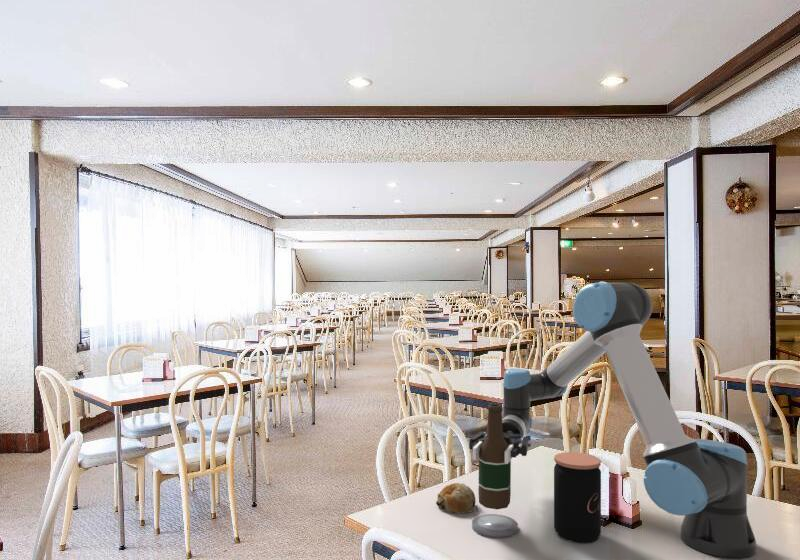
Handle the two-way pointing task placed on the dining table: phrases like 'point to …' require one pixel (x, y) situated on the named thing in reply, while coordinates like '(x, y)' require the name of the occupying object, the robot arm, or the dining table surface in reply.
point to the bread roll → (456, 498)
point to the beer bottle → (494, 464)
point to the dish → (495, 526)
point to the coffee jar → (577, 497)
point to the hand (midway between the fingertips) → (490, 455)
